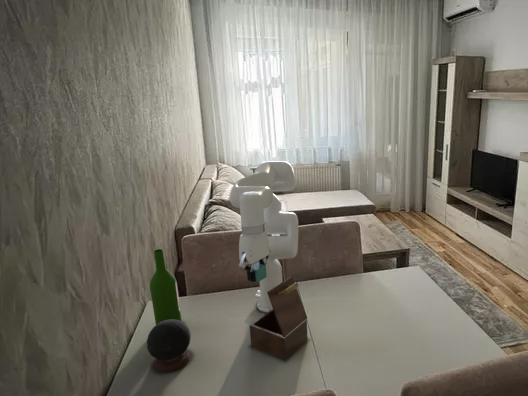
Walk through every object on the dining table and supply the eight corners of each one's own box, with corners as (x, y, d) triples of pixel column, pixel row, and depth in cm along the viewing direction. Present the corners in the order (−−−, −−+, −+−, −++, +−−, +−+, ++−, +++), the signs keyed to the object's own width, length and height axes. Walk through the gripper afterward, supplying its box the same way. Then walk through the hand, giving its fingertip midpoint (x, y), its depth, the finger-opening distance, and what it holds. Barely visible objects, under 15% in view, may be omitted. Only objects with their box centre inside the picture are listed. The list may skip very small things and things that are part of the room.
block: (257, 282, 130) (256, 270, 128) (247, 279, 132) (246, 267, 131) (266, 277, 133) (265, 265, 132) (257, 274, 136) (256, 262, 134)
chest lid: (266, 292, 128) (278, 290, 125) (291, 276, 138) (302, 274, 136) (283, 337, 129) (294, 336, 126) (305, 318, 140) (317, 317, 137)
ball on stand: (147, 358, 132) (141, 320, 128) (188, 343, 140) (183, 307, 136) (154, 380, 122) (147, 340, 118) (197, 363, 129) (192, 325, 125)
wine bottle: (186, 327, 149) (175, 250, 140) (162, 337, 143) (149, 257, 134) (176, 318, 155) (166, 243, 146) (153, 327, 149) (140, 250, 140)
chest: (251, 346, 138) (249, 325, 136) (274, 328, 149) (273, 308, 147) (285, 360, 131) (284, 338, 129) (307, 340, 142) (306, 319, 140)
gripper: (262, 219, 136) (265, 266, 141) (225, 234, 122) (230, 285, 127) (279, 223, 133) (281, 270, 138) (242, 238, 119) (247, 291, 124)
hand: (257, 277), depth 133 cm, fingers closed on block, 4 cm apart
